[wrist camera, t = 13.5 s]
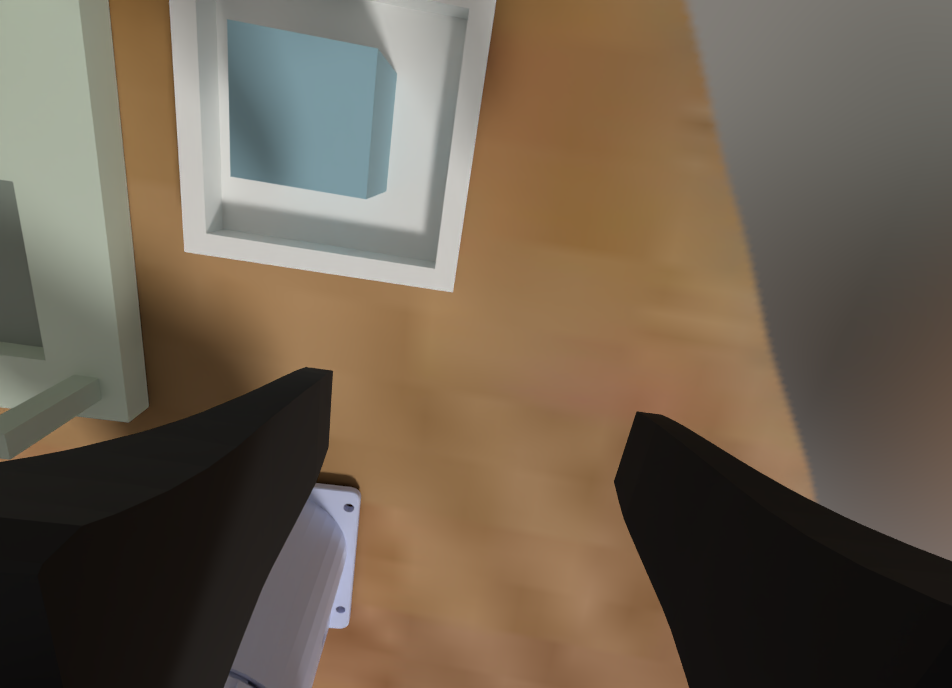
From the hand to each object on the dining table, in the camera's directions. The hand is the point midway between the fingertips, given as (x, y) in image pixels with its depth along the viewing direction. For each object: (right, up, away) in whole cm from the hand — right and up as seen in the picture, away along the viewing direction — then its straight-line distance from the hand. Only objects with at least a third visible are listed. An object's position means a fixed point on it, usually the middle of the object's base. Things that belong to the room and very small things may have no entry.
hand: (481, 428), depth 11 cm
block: (-5, +10, +6) cm, 13 cm away
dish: (-5, +10, +7) cm, 13 cm away
